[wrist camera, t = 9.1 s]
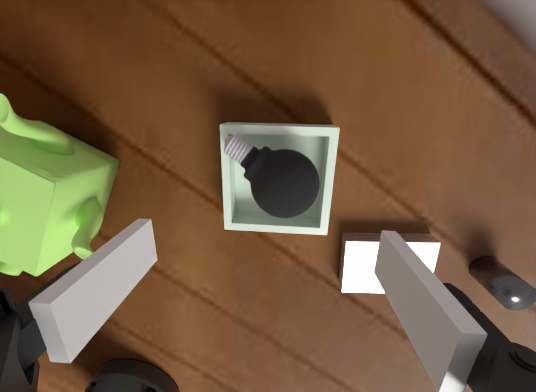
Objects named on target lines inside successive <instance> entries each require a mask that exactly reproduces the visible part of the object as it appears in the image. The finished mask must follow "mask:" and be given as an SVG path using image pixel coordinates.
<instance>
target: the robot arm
mask: <svg viewBox="0 0 536 392" xmlns="http://www.w3.org/2000/svg"><path fill="white" fill-rule="evenodd" d="M156 261H157V255H156V248H155V241H154V235H153V228H152V222H151V219H137V220H136V221H135V222H133V223H132V224H131V225H129V226H128V227H127V228H125V229H124V230H123V231H122V232H120V233H119V234H118V235H116V236H115V237H114V238H112V239H111V240H110V241H108V242H107V243H106V244H104V245H103V246H102V247H100V248H99V249H98V250H97V251H95V252H94V253H93V254H91V255H90V256H89V257H87V258H86V259H85V260H83V261H82V262H79V263H77V264H75V265H73V266H71V267H69V268H66V269H65V270H64V271H62V272H61V273H60V274H58V275H57V276H55V278H53V279H51V280H50V281H49V282H47V284H46V285H43V286H42V287H41V288H39V289H38V290H37V291H35V292H34V293H32V294H31V295H30V296H28V297H27V298H26V299H24V300H23V301H22V302H20V303H19V304H18V305H15V303H14V300H13V298H12V295H11V293H10V290H8V289H5V288H0V392H37V385H38V376H39V368H40V366H39V362H38V358H39V357H40V356H41V355H42V354H43V353H44V352H45V351H47V353H48V356H49V359H50V361H51V362H59V363H71V362H72V361H73V360H74V359H75V357H76V356H77V355H78V354H79V353H80V351H81V350H82V349H83V348H84V347H85V345H86V344H87V343H88V342H89V341H90V339H91V338H92V337H93V336H94V335H95V333H96V332H97V331H98V330H99V329H100V328H101V326H102V325H103V324H104V323H105V322H106V320H107V319H108V318H109V317H110V316H111V314H112V313H113V312H114V311H115V310H116V308H117V307H118V306H119V305H120V304H121V302H122V301H123V300H124V299H125V298H126V296H127V295H128V294H129V293H130V292H131V291H132V289H133V288H134V287H135V286H136V285H137V283H138V282H139V281H140V280H141V279H142V277H143V276H144V275H145V274H146V273H147V271H148V270H149V269H150V268H151V267H152V265H153V264H154V263H155V262H156ZM374 274H375V276H376V278H377V280H378V281H379V283H380V285H381V287H382V289H383V291H384V293H385V295H386V296H387V298H388V300H389V302H390V304H391V306H392V308H393V310H394V311H395V313H396V315H397V317H398V319H399V321H400V323H401V325H402V326H403V328H404V330H405V332H406V334H407V336H408V338H409V340H410V341H411V343H412V345H413V347H414V349H415V351H416V353H417V355H418V356H419V358H420V360H421V362H422V364H423V366H424V368H425V370H426V371H427V373H428V375H429V377H430V379H431V381H432V383H433V385H434V386H435V388H436V390H437V392H464V389H465V387H466V385H467V383H468V385H469V386H470V388H471V390H472V391H473V392H536V352H535V351H533V350H531V349H529V348H527V347H525V346H522V345H520V344H517V343H513V342H510V341H509V340H508V338H507V337H506V336H505V335H504V334H503V333H502V332H501V331H500V330H499V329H498V328H497V327H496V326H495V325H494V324H493V323H492V322H491V321H490V320H489V319H488V318H487V317H486V316H485V314H484V313H483V312H480V309H479V308H478V307H477V306H476V305H475V304H473V303H472V301H471V300H470V299H469V298H468V297H467V296H466V295H465V294H464V293H463V292H462V291H461V290H459V289H458V288H456V287H455V286H453V285H452V284H450V283H442V282H441V281H440V280H439V279H438V278H437V277H436V276H435V274H434V273H433V272H432V271H431V270H430V269H429V268H428V267H427V265H426V264H425V263H424V262H423V261H422V260H421V259H420V258H419V256H418V255H417V254H416V253H415V252H414V251H413V250H412V249H411V247H410V246H409V245H408V244H407V243H406V242H405V241H404V240H403V238H402V237H401V236H400V235H399V234H398V233H397V232H396V231H384V230H382V232H381V237H380V242H379V247H378V252H377V257H376V262H375V267H374ZM85 392H179V390H178V388H177V386H176V384H175V383H174V382H173V380H172V379H171V378H170V377H169V376H168V375H166V374H165V373H164V372H162V371H161V370H159V369H158V368H156V367H154V366H152V365H150V364H147V363H144V362H141V361H136V360H130V359H119V360H113V361H109V362H107V363H105V364H103V365H102V366H101V367H100V368H99V369H98V370H97V371H96V373H95V374H94V376H93V377H92V378H91V380H90V381H89V383H88V385H87V387H86V389H85Z"/></svg>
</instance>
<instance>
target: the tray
mask: <svg viewBox="0 0 536 392" xmlns="http://www.w3.org/2000/svg"><path fill="white" fill-rule="evenodd" d="M234 134H237V135H238V136H239V135H240V137H241V138H242V137H243V140H246V142H249V144H252V146H255V147H256V148H257V149H259V150H260V149H262V148H263V147H264V146H267V147H268V148H270V149H271V150H274V151H275V150H280V149H291V150H295V151H298V152H300V153H302V154H304V155H305V156H307V157H308V158H309V159H310V160H311V161H312V163H313V164H314V165H315V167H316V169H317V172H318V175H319V180H320V187H319V192H318V196H317V198H316V200H315V202H314V203H313V204H312V206H311V207H310V208H309V209H308V210H307V211H305V212H304V213H302V214H301V215H298V216H296V217H292V218H278V217H274V216H271V215H269V214H268V213H266V212H265V211H263V210H262V209H261V208H260V207H259V206H258V205H257V203H256V202H255V200H254V198H253V195H252V192H251V185H250V182H249V181H248V180H247V179H246V178H244V173H245V169H244V168H243V167H242V166H240V165H241V164H238V162H236V161H235V160H233V158H230V156H227V154H224V145H225V139H226V138H228V137H230V136H232V135H234ZM338 137H339V127H337V126H335V125H322V124H285V123H247V122H226V123H223V124H220V142H221V164H222V185H223V207H224V229H226V230H244V231H262V232H279V233H297V234H315V235H327V231H328V223H329V214H330V205H331V197H332V188H333V180H334V171H335V163H336V154H337V145H338Z"/></svg>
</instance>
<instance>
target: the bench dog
mask: <svg viewBox="0 0 536 392" xmlns="http://www.w3.org/2000/svg"><path fill="white" fill-rule="evenodd" d="M469 273H470V274H471V276H473V277H474V278H475V279H476V280H477V281H478V282H479V283H480V284H481V285H482V286H483V287H484V288H485V289H486V290H487V291H488V292H489V293H491V294H492V295H493V296H494V297H495V298H496V299H497V300H498V301H499V302H500V303H501V304H502V305H503V306H504V307H505V308H507V309H509V310H522V309H525V308H528V307H529V306H531V305H532V304H533V303H534V302H535V301H536V289H535V288H533V287H532V286H531V285H529V284H528V283H527V282H525V281H524V280H523V279H521V278H520V277H519V276H517V275H516V274H515V273H513V272H512V271H511V270H510V269H508V268H507V267H506V266H504V265H503V264H502V263H500V262H499V261H498V260H496V259H495V258H493V257H490V256H484V257H480V258H478V259H476V260H474V261H473V262H472V263H471V265H470V267H469Z"/></svg>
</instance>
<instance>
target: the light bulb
mask: <svg viewBox="0 0 536 392" xmlns="http://www.w3.org/2000/svg"><path fill="white" fill-rule="evenodd" d="M224 154H227V156H230V158H233V160H235V161H236V162H238V164H241V165H240V166H242V167H243V168H244V169H245V173H244V178H246V179H247V180H248V181H249V182H250V185H251V192H252V195H253V198H254V200H255V202H256V203H257V205H258V206H259V207H260V208H261V209H262V210H263V211H265V212H266V213H268V214H269V215H271V216H274V217H278V218H292V217H296V216H298V215H301V214H302V213H304V212H305V211H307V210H308V209H309V208H310V207H311V206H312V204H313V203H314V202H315V200H316V198H317V196H318V192H319V187H320V180H319V175H318V172H317V169H316V167H315V165H314V164H313V163H312V161H311V160H310V159H309V158H308V157H307V156H305V155H304V154H302V153H300V152H298V151H295V150H291V149H280V150H275V151H274V150H271V149H270V148H268V147H267V146H264V147H263V148H262V149H260V150H259V149H257V148H256V147H255V146H252V144H249V142H246V140H243V137H242V138H241V137H240V135H239V136H238V135H237V134H234V135H232V136H230V137H228V138H226V139H225V145H224Z"/></svg>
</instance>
